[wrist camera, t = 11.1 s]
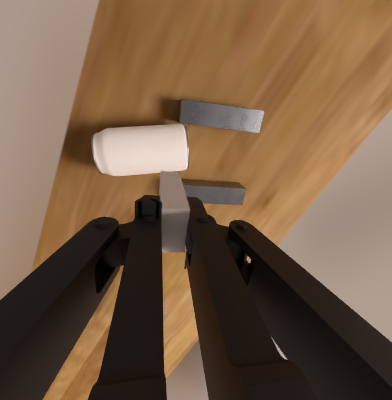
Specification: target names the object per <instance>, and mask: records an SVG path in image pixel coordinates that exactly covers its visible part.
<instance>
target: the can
mask: <svg viewBox="0 0 392 400" xmlns="http://www.w3.org/2000/svg"><path fill="white" fill-rule="evenodd" d="M91 147H92V154H93V159H94V162H95V165H96V167H97V169H98V171H99V172H100V173H101V174H109V175H112V176H125V175H137V174H149V173H160V171H168V172H171V171H182V170H186V169H187V168H188V167H189V146H188V137H187V131H186V127H185V126H183V125H182V124H169V125H151V126H134V127H118V128H107V129H104V130H102V131H101V132H99V133H97V132H94V133H93V135H92V139H91Z"/></svg>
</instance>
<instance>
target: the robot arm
mask: <svg viewBox="0 0 392 400" xmlns="http://www.w3.org/2000/svg"><path fill="white" fill-rule="evenodd" d="M185 246H186V249H187V251H186V259H185V267H184V269H186V267H187V269H188V275H189V282H190V288H191V294H192V300H193V306H194V312H195V318H196V324H197V330H198V336H199V342H200V349H201V355H202V360H203V367H204V373H205V379H206V385H207V391H208V397H209V400H392V342H390V341H389V340H388V339H387V338H386V337H385V336H383V335H382V334H381V333H380V332H379V331H377V330H376V329H375V328H374V327H373V326H371V325H370V324H369V323H368V322H367V321H365V320H364V319H363V318H362V317H361V316H360V315H358V314H357V313H356V312H355V311H354V310H352V309H351V308H350V307H349V306H348V305H346V304H345V303H344V302H343V301H342V300H340V299H339V298H338V297H337V296H336V295H335V294H333V293H332V292H331V291H330V290H329V289H327V288H326V287H325V286H324V285H323V284H321V283H320V282H319V281H318V280H317V279H316V278H314V277H313V276H312V275H311V274H310V273H308V272H307V271H306V270H305V269H304V268H302V267H301V266H300V265H299V264H298V263H297V262H295V261H294V260H293V259H292V258H291V257H289V256H288V255H287V254H286V253H285V252H283V251H282V250H281V249H280V248H279V247H277V246H276V245H275V244H274V243H273V242H272V241H270V240H269V239H268V238H267V237H266V236H264V235H263V234H262V233H261V232H260V231H258V230H257V229H256V228H255V227H254V226H253V225H251V224H250V223H248V222H245V221H242V220H234V221H231V222H230V225H229V227H227V226H222V225H218V224H217V223H216V221H215V219H214V218H213V217H212V216H210V215H208V214H207V212H206V210H205V208H204V206H203V203H202V201H201V200H200V199H199V198H197V197H186V194H185V190H184V187H183V183H182V180H181V176H180V173H179V172H168V171H160V189H159V196H154V195H144V196H143V197H142V198H140V199H138V200H136V201H135V218H134V221H132V222H129V223H126V224H120V225H119V223H118V221H117V220H116V219H114V218H111V217H100V218H97V219H94V220H92V221H90V222H89V223H88V224H87V225H85V226H84V227H83V228H82V229H81V230H80V231H79V232H77V233H76V234H75V235H74V236H73V237H72V238H71V239H69V240H68V241H67V242H66V243H65V244H64V245H63V246H61V247H60V248H59V249H58V250H57V251H56V252H55V253H53V254H52V255H51V256H50V257H49V258H48V259H47V260H46V261H44V262H43V263H42V264H41V265H40V266H39V267H38V268H36V269H35V270H34V271H33V272H32V273H31V274H30V275H28V276H27V277H26V278H25V279H24V280H23V281H22V282H20V283H19V284H18V285H17V286H16V287H15V288H14V289H13V290H11V291H10V292H9V293H8V294H7V295H6V296H4V298H2V299H1V300H0V400H42V399H43V398H44V396H45V394H46V393H47V391H48V389H49V387H50V386H51V384H52V382H53V381H54V379H55V377H56V376H57V374H58V372H59V371H60V369H61V367H62V366H63V364H64V362H65V361H66V359H67V357H68V356H69V354H70V352H71V351H72V349H73V347H74V346H75V344H76V342H77V341H78V339H79V337H80V335H81V334H82V332H83V330H84V329H85V327H86V325H87V324H88V322H89V320H90V319H91V317H92V315H93V314H94V312H95V310H96V309H97V307H98V305H99V304H100V302H101V300H102V299H103V297H104V295H105V294H106V292H107V290H108V289H109V287H110V285H111V283H112V282H113V280H114V278H115V277H116V275H117V273H118V272H119V270H120V266H122V265H124V268H123V272H122V277H121V281H120V285H119V290H118V294H117V299H116V303H115V308H114V312H113V317H112V321H111V326H110V330H109V335H108V339H107V343H106V348H105V352H104V357H103V361H102V366H101V370H100V374H99V378H98V380H97V382H96V383H95V384H94V386H93V387H92V390H91V392H90V395H89V398H88V400H167V395H166V377H165V374H164V342H163V282H162V252H185ZM247 256H249V257H250V259H251V263H248V261H247ZM270 335H271V336H270ZM271 337H272V338H273V340H274V341H275V342H276V344H277V345H278V347H279V348H280V350H281V351H282V352H283V354H284V355H285V357H286V358H287V359H288V360H286V359H284V358H283V357H282V356H281V355H280V354H279V352H278V350H277V348H276V346H275V344H274V342H273V340H272V338H271Z"/></svg>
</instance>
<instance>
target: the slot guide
mask: <svg viewBox="0 0 392 400" xmlns="http://www.w3.org/2000/svg"><path fill="white" fill-rule="evenodd" d="M263 114H264V111H259V110H253V109H246V108H239V107H232V106H225V105H218V104H212V103H205V102H198V101H191V100H184V99H181V100H180V102H179V114H178V122H179V123H182V124H191V125H199V126H207V127H215V128H223V129H232V130H240V131H248V132H256V133H259V131H260V127H261V123H262V119H263ZM181 180H182V183H183V187H184V190H185V194H186V197H197V198H199V199H200V200H201V201H202V203H208V204H231V205H242V204H243V200H244V195H245V191H246V188H245V187H244V186H242V185H241V184H240V183H234V182H218V181H203V180H188V179H181Z"/></svg>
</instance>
